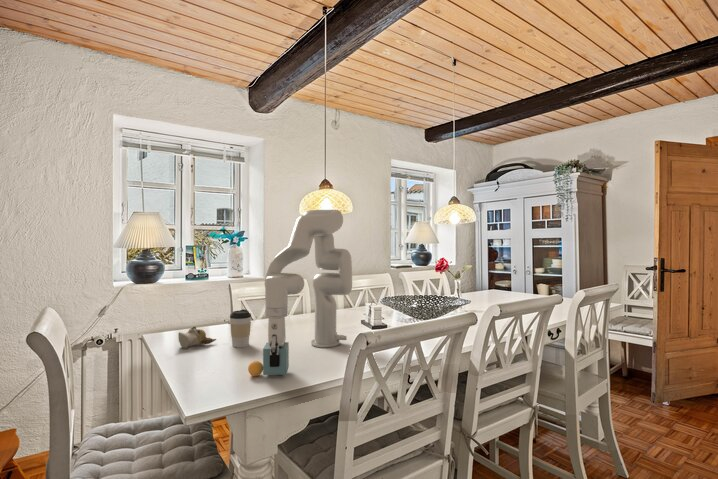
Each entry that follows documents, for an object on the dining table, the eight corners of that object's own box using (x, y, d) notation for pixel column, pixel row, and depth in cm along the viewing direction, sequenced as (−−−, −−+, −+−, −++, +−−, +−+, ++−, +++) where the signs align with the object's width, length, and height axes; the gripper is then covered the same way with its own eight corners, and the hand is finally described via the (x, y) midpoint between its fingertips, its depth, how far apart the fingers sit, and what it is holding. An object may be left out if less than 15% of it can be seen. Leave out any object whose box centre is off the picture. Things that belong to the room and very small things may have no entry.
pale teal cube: (288, 366, 141) (288, 342, 141) (286, 374, 134) (286, 348, 134) (266, 367, 141) (266, 342, 141) (263, 375, 133) (263, 348, 133)
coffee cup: (245, 348, 168) (245, 313, 168) (225, 347, 170) (225, 312, 170) (254, 342, 177) (254, 309, 177) (236, 341, 179) (236, 308, 179)
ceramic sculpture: (172, 326, 170) (204, 322, 182) (171, 347, 170) (203, 341, 182) (185, 330, 163) (218, 326, 175) (184, 352, 163) (217, 346, 175)
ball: (259, 356, 139) (246, 363, 139) (257, 361, 134) (244, 368, 134) (266, 368, 140) (253, 375, 139) (264, 373, 135) (251, 381, 134)
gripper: (284, 316, 129) (284, 371, 129) (289, 307, 146) (289, 354, 146) (261, 317, 128) (261, 371, 128) (269, 307, 145) (268, 355, 146)
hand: (276, 362), depth 137 cm, fingers closed on pale teal cube, 7 cm apart
